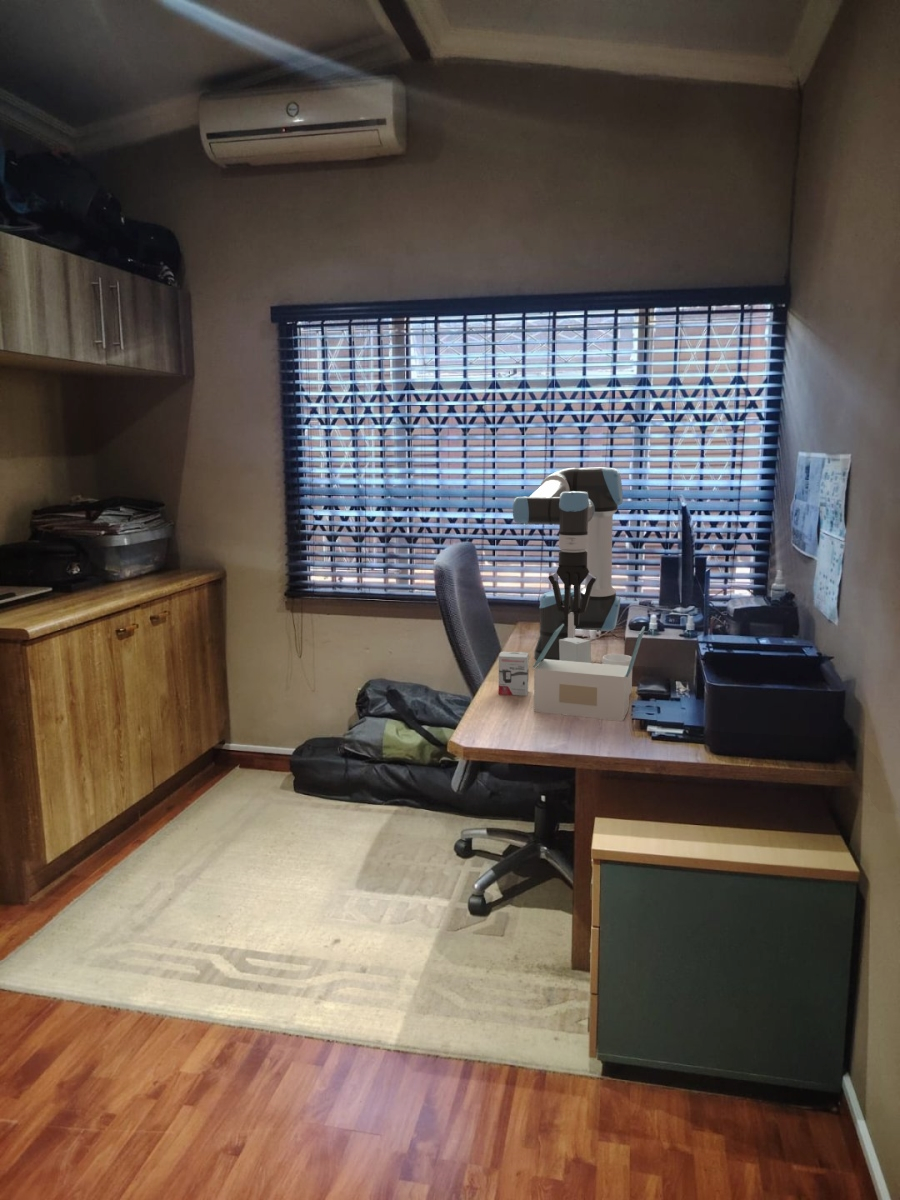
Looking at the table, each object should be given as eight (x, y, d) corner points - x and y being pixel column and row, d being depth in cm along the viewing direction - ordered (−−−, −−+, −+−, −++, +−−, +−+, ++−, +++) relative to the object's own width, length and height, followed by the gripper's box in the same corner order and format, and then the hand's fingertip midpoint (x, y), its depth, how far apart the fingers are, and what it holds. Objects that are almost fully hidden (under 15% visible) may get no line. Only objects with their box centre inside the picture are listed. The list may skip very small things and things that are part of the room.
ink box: (497, 694, 226) (497, 655, 224) (499, 689, 231) (499, 651, 229) (527, 696, 225) (527, 656, 222) (528, 691, 229) (529, 652, 227)
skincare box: (591, 689, 231) (593, 640, 228) (576, 692, 227) (577, 643, 225) (572, 682, 237) (573, 635, 235) (557, 685, 234) (558, 638, 231)
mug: (603, 700, 220) (604, 664, 218) (600, 688, 232) (601, 653, 230) (633, 701, 219) (635, 664, 217) (630, 688, 230) (631, 654, 228)
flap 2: (630, 667, 210) (632, 667, 210) (625, 676, 201) (627, 677, 201) (643, 626, 207) (645, 626, 206) (638, 633, 198) (640, 634, 198)
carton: (543, 699, 221) (544, 659, 219) (628, 708, 213) (630, 666, 211) (533, 711, 211) (534, 669, 209) (622, 721, 203) (624, 677, 200)
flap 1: (534, 667, 210) (532, 666, 210) (542, 659, 218) (541, 658, 218) (556, 632, 205) (554, 631, 206) (564, 624, 214) (562, 623, 214)
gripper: (545, 551, 204) (544, 638, 208) (595, 552, 199) (593, 641, 204) (552, 547, 211) (551, 632, 215) (600, 549, 206) (598, 635, 210)
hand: (571, 636), depth 209 cm, fingers closed
